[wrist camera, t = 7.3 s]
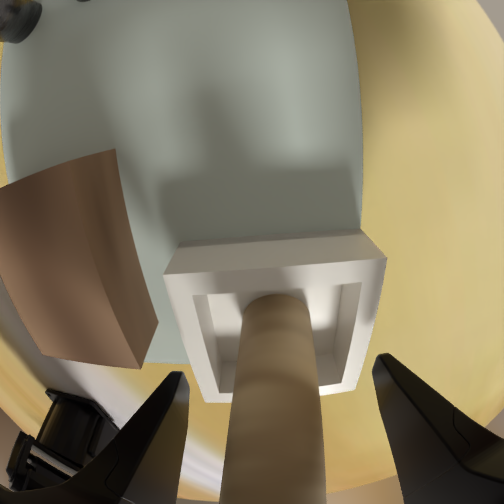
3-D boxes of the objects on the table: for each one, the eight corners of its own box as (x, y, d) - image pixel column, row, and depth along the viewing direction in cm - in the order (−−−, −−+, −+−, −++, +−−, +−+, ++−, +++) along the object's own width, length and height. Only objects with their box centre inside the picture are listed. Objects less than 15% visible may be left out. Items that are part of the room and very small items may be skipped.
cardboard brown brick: (67, 319, 12) (42, 354, 10) (19, 180, 9) (-24, 200, 6) (158, 322, 12) (140, 369, 9) (115, 148, 9) (69, 160, 6)
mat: (81, 346, 14) (76, 354, 14) (16, 20, 5) (8, 18, 4) (339, 343, 14) (342, 353, 13) (322, -62, 5) (326, -70, 4)
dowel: (246, 341, 12) (226, 519, 5) (239, 294, 10) (206, 515, 4) (308, 340, 12) (318, 519, 5) (312, 292, 10) (336, 515, 3)
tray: (210, 364, 13) (205, 402, 11) (180, 241, 10) (162, 274, 8) (342, 353, 13) (354, 389, 11) (360, 228, 10) (387, 257, 8)
